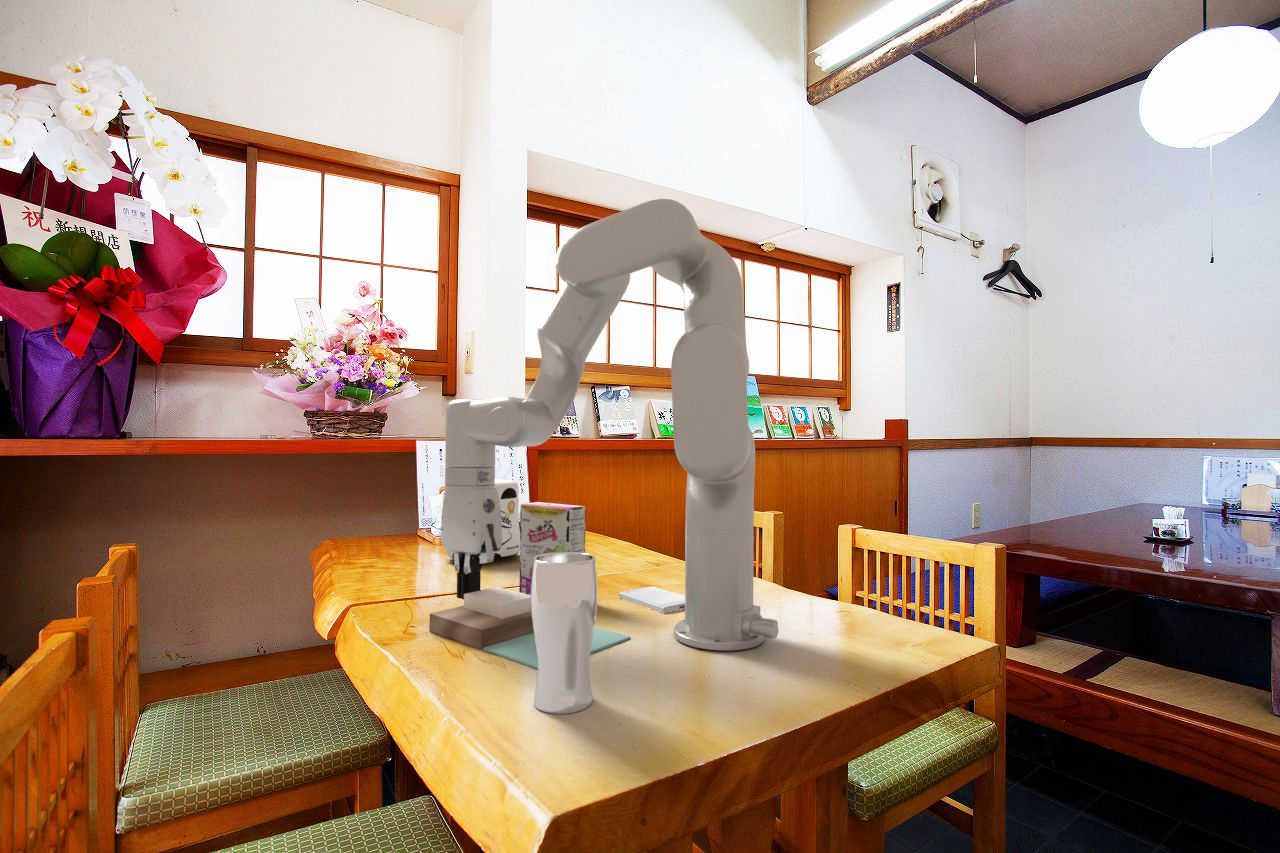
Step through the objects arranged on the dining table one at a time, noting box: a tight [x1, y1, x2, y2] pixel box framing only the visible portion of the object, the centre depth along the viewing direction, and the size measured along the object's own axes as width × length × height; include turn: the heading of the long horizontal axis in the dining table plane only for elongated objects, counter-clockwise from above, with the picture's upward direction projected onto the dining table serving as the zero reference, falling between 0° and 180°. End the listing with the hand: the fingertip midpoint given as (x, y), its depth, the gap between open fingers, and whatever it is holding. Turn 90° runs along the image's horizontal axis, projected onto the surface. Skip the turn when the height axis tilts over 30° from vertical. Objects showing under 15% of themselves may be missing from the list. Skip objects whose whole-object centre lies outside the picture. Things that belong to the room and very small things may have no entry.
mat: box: [482, 626, 631, 670], centre depth 82 cm, size 12×16×1 cm
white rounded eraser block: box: [463, 586, 531, 619], centre depth 91 cm, size 9×6×2 cm, turn 51°
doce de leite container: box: [448, 479, 520, 563], centre depth 142 cm, size 17×17×18 cm
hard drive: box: [618, 586, 685, 614], centre depth 105 cm, size 2×8×12 cm
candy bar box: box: [518, 501, 587, 595], centre depth 106 cm, size 11×5×16 cm, turn 58°
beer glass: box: [531, 552, 599, 715], centre depth 64 cm, size 7×7×15 cm
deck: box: [429, 605, 533, 650], centre depth 90 cm, size 12×16×2 cm
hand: (468, 597), depth 95 cm, fingers closed
